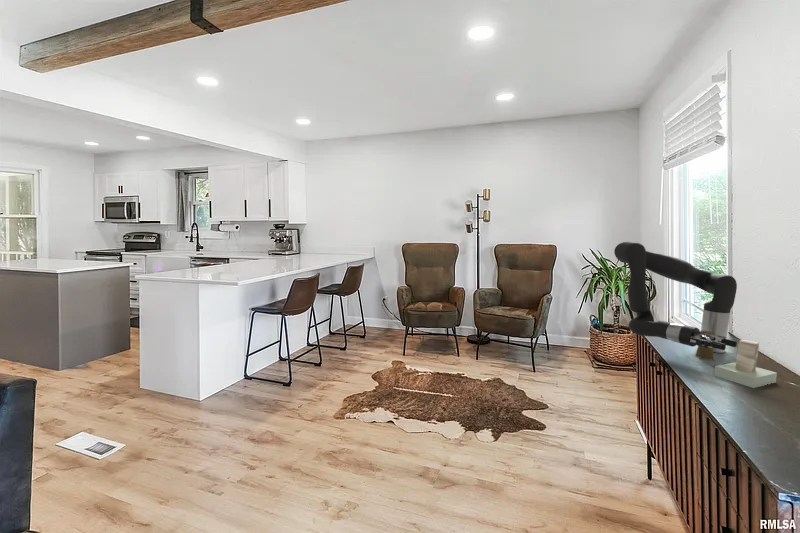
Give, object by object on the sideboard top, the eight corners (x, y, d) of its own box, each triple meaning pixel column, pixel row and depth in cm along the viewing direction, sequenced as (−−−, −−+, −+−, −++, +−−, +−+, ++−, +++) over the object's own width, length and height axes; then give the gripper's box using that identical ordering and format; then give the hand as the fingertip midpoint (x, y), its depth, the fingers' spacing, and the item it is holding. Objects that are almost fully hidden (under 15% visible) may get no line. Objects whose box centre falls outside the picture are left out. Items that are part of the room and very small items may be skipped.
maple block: (739, 366, 151) (743, 339, 150) (755, 370, 147) (759, 342, 146) (735, 368, 148) (738, 341, 147) (751, 372, 145) (754, 344, 143)
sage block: (736, 371, 157) (737, 361, 156) (775, 383, 146) (777, 372, 145) (714, 376, 151) (715, 366, 150) (753, 389, 140) (754, 378, 140)
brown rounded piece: (716, 360, 168) (720, 333, 167) (699, 358, 169) (703, 332, 168) (708, 355, 174) (712, 329, 173) (692, 354, 175) (695, 328, 174)
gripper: (674, 326, 162) (722, 338, 148) (693, 323, 169) (741, 333, 155) (671, 345, 162) (720, 358, 149) (691, 341, 170) (738, 353, 156)
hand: (731, 345), depth 152 cm, fingers open, 8 cm apart
